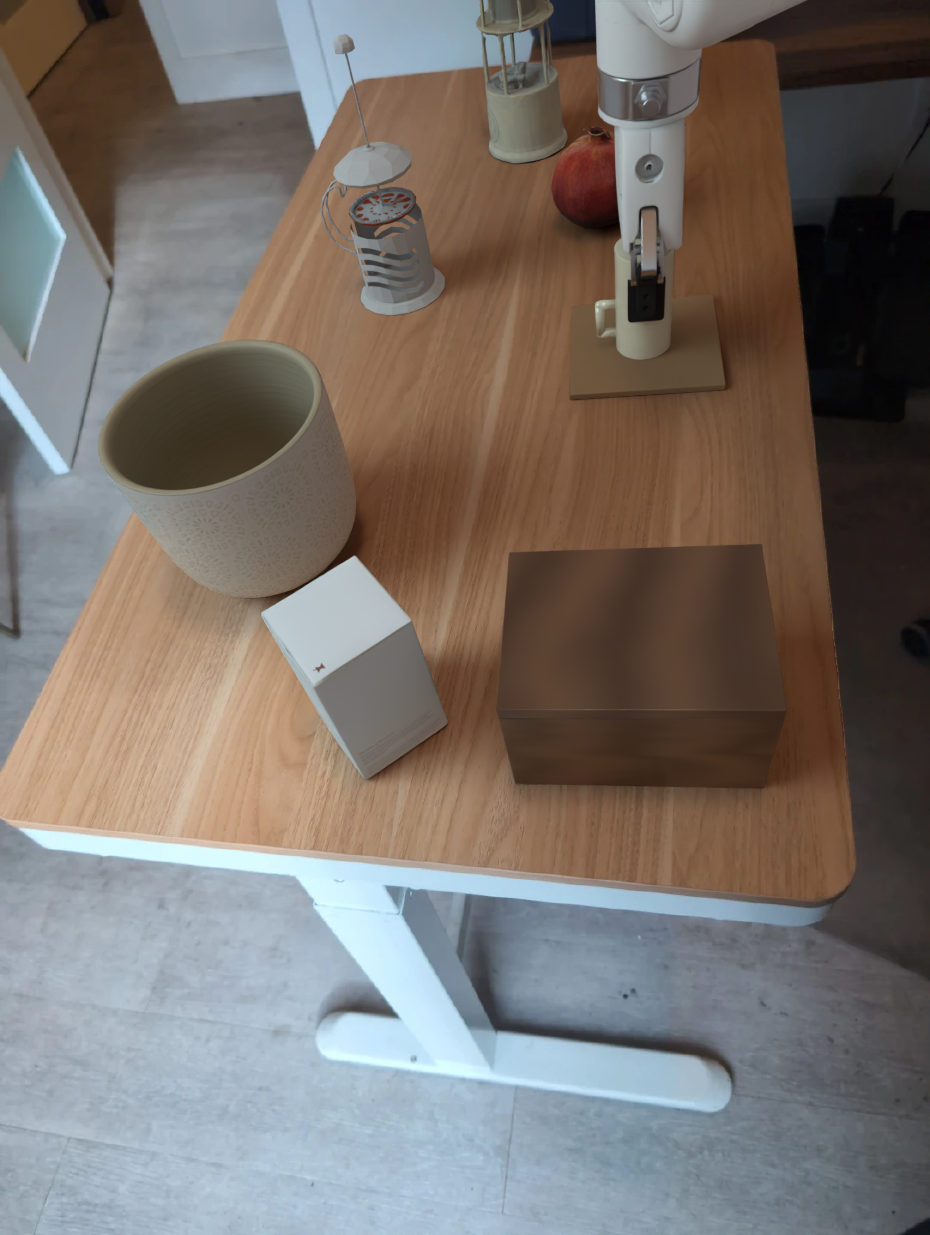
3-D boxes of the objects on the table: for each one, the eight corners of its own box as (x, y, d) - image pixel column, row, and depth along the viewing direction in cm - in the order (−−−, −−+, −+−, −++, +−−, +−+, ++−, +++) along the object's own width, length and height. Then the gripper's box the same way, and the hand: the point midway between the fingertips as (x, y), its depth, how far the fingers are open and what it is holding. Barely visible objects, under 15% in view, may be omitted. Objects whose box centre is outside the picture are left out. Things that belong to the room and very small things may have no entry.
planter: (332, 639, 66) (266, 506, 54) (151, 611, 71) (52, 484, 59) (399, 485, 75) (355, 342, 63) (234, 470, 80) (164, 334, 68)
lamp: (477, 163, 108) (435, -138, 85) (511, 115, 115) (480, -176, 91) (553, 164, 105) (531, -148, 81) (583, 115, 111) (571, -187, 88)
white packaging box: (452, 724, 60) (416, 621, 50) (364, 784, 58) (309, 690, 48) (399, 658, 64) (356, 551, 54) (316, 712, 62) (255, 611, 52)
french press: (434, 314, 90) (379, 54, 70) (334, 316, 93) (254, 66, 73) (453, 262, 95) (407, 7, 75) (358, 266, 98) (289, 20, 78)
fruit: (547, 245, 94) (540, 155, 86) (562, 199, 100) (556, 109, 92) (643, 244, 91) (644, 150, 83) (653, 196, 97) (655, 103, 89)
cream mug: (669, 324, 82) (673, 226, 74) (672, 357, 78) (676, 259, 71) (596, 330, 83) (592, 234, 75) (596, 363, 80) (592, 267, 72)
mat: (712, 299, 84) (713, 294, 83) (725, 390, 76) (725, 384, 75) (572, 311, 86) (572, 306, 86) (570, 400, 78) (569, 395, 78)
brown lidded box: (744, 634, 60) (761, 543, 52) (763, 788, 53) (787, 710, 45) (523, 637, 63) (508, 551, 55) (515, 783, 56) (496, 710, 48)
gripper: (709, 132, 57) (692, 355, 71) (692, 31, 67) (681, 245, 81) (597, 145, 58) (603, 361, 73) (597, 45, 68) (602, 252, 82)
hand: (644, 298), depth 77 cm, fingers closed on cream mug, 5 cm apart
